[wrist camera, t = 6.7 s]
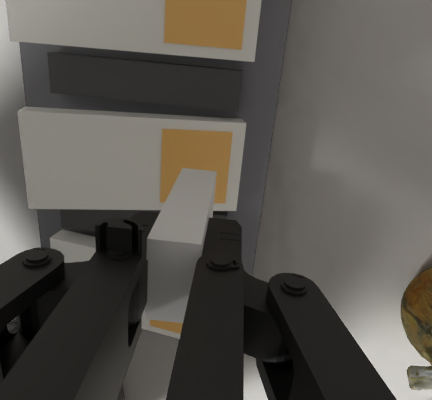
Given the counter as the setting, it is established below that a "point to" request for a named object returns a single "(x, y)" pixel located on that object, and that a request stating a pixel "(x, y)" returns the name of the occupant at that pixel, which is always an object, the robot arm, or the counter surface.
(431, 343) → the onion
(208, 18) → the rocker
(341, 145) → the counter surface
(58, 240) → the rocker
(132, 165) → the block
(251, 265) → the rocker switch panel
